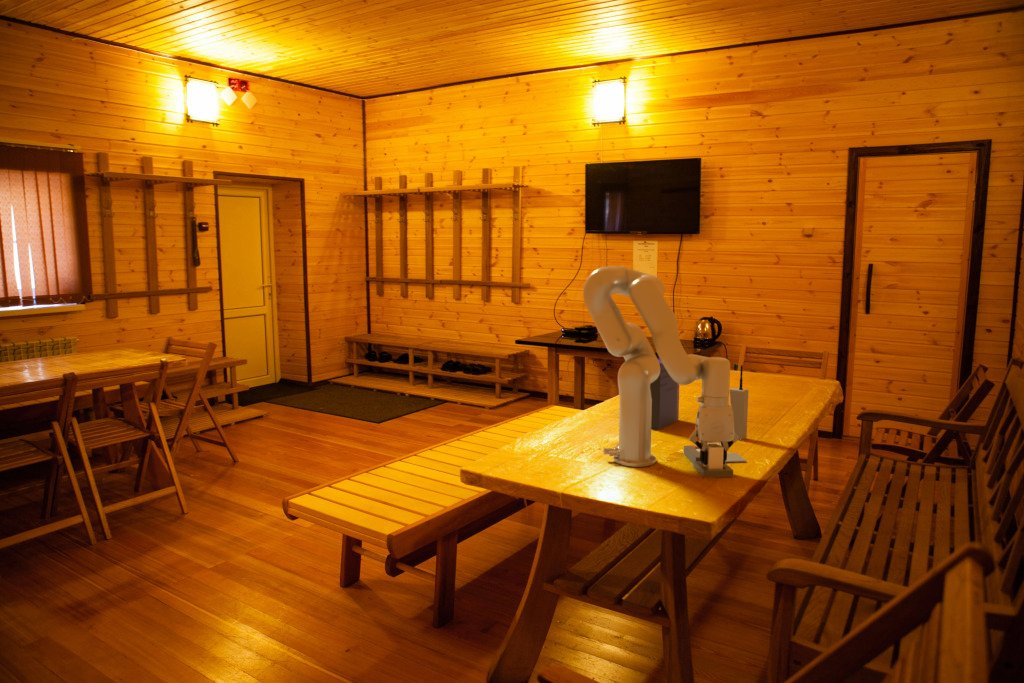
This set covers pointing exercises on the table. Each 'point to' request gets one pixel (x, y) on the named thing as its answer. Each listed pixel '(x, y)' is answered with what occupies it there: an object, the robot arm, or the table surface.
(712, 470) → the charging dock
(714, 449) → the plug
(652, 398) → the cereal box
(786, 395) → the table surface
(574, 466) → the table surface
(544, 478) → the table surface
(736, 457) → the rubber mat
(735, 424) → the vintage mobile phone
